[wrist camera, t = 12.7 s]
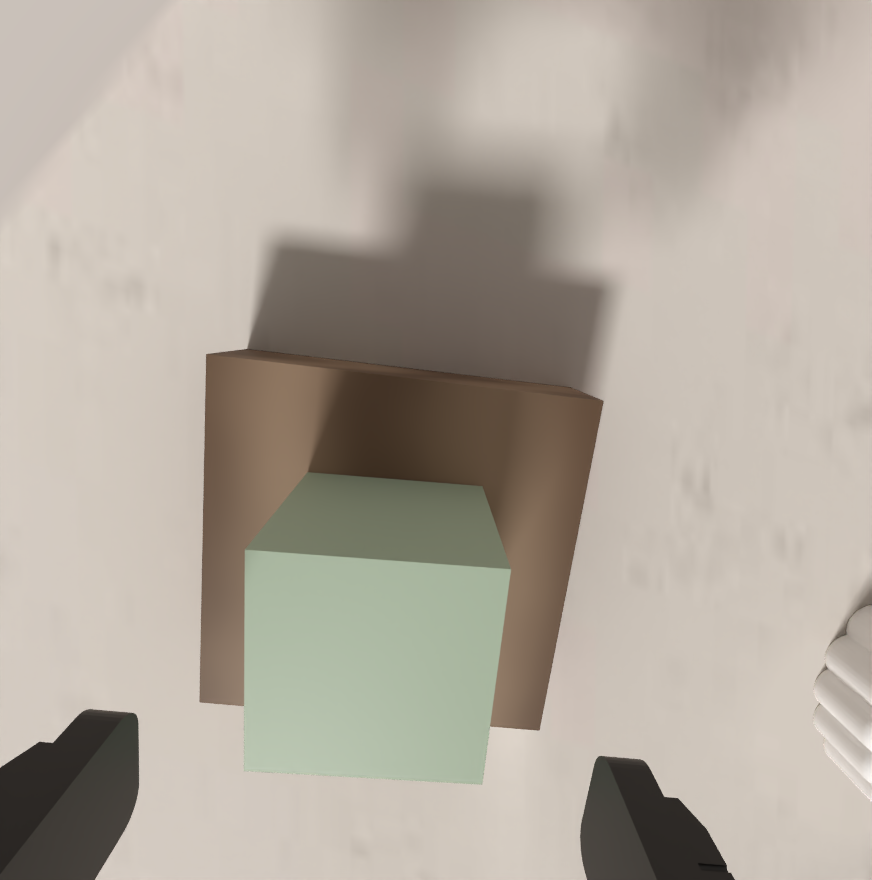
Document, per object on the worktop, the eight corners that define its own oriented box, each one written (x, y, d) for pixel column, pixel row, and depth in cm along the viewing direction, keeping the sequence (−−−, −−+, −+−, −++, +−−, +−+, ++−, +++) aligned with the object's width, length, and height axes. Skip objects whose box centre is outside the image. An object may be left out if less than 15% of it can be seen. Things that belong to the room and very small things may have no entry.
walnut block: (566, 385, 19) (603, 400, 15) (518, 658, 22) (539, 730, 18) (251, 348, 19) (206, 354, 15) (240, 633, 21) (199, 702, 17)
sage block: (482, 486, 16) (511, 569, 10) (464, 639, 17) (482, 784, 12) (307, 472, 16) (244, 550, 10) (302, 628, 17) (244, 770, 11)
